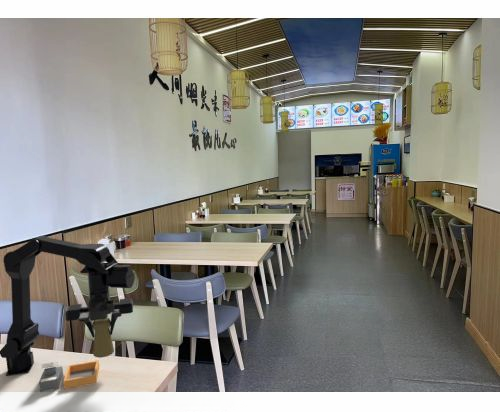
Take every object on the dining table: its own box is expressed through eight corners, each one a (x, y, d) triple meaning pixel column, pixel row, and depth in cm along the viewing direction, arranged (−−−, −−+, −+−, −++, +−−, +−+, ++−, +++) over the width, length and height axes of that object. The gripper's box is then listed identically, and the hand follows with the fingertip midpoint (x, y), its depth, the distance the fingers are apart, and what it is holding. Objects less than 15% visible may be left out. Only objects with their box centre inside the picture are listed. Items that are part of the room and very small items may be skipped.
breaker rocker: (41, 367, 111) (41, 363, 111) (47, 367, 116) (47, 363, 116) (53, 365, 111) (53, 362, 112) (57, 365, 117) (57, 362, 117)
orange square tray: (64, 389, 111) (63, 381, 111) (69, 372, 120) (68, 365, 119) (96, 383, 114) (95, 375, 114) (99, 367, 122) (98, 360, 122)
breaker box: (39, 392, 110) (37, 376, 110) (45, 378, 117) (43, 363, 116) (58, 388, 112) (57, 373, 111) (63, 375, 119) (61, 360, 118)
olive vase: (107, 358, 114) (104, 323, 113) (89, 356, 116) (86, 322, 114) (117, 348, 120) (115, 315, 119) (100, 346, 121) (98, 313, 120)
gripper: (59, 300, 105) (64, 353, 107) (131, 292, 110) (134, 343, 112) (66, 286, 115) (70, 335, 117) (131, 280, 120) (134, 326, 123)
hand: (102, 335), depth 117 cm, fingers closed on olive vase, 5 cm apart
